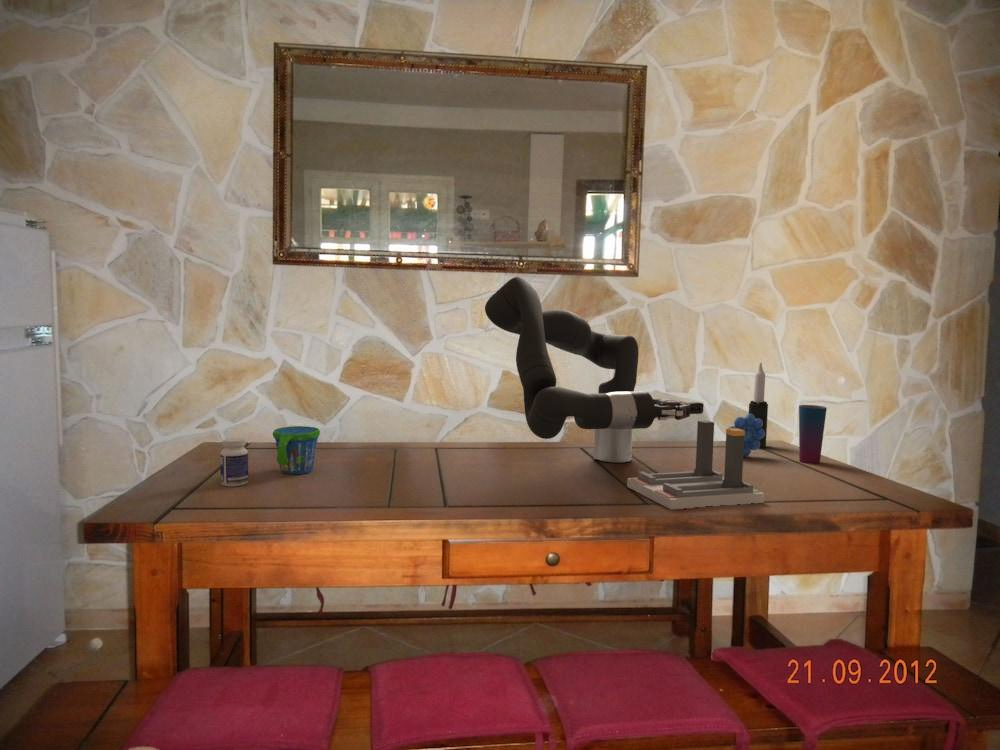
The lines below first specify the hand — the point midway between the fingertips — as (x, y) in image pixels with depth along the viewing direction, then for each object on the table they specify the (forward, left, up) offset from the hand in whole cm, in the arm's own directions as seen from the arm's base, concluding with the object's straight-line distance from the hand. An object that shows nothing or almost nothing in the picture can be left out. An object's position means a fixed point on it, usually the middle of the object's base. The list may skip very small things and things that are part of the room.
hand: (701, 407), depth 150 cm
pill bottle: (-92, -39, -20) cm, 102 cm away
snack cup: (-89, -23, -20) cm, 94 cm away
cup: (+17, +58, -20) cm, 63 cm away
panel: (-2, +6, -20) cm, 21 cm away
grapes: (0, +56, -20) cm, 59 cm away
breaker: (+6, +6, -18) cm, 19 cm away
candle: (+1, +74, -20) cm, 76 cm away
